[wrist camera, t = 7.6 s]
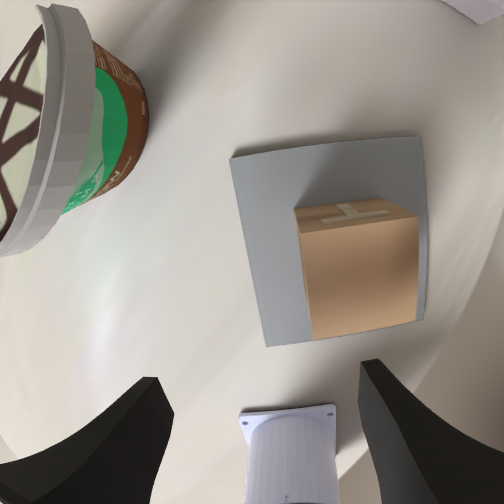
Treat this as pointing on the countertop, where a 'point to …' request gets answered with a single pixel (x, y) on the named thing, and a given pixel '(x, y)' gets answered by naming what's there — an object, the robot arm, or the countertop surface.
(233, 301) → the countertop surface
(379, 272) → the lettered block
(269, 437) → the robot arm
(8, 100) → the food container
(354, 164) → the slate board
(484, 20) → the charger
